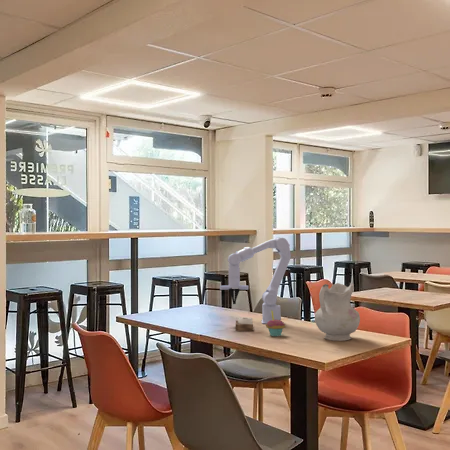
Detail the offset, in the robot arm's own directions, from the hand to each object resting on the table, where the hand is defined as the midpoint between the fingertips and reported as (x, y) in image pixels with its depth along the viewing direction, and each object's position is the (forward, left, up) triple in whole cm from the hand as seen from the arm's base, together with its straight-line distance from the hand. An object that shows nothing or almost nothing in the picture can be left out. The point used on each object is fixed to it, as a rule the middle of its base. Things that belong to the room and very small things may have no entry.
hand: (234, 303), depth 287 cm
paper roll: (-5, +15, -10) cm, 19 cm away
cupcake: (-19, +31, -10) cm, 38 cm away
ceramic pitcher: (-45, +39, -10) cm, 60 cm away
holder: (-5, +15, -10) cm, 19 cm away
